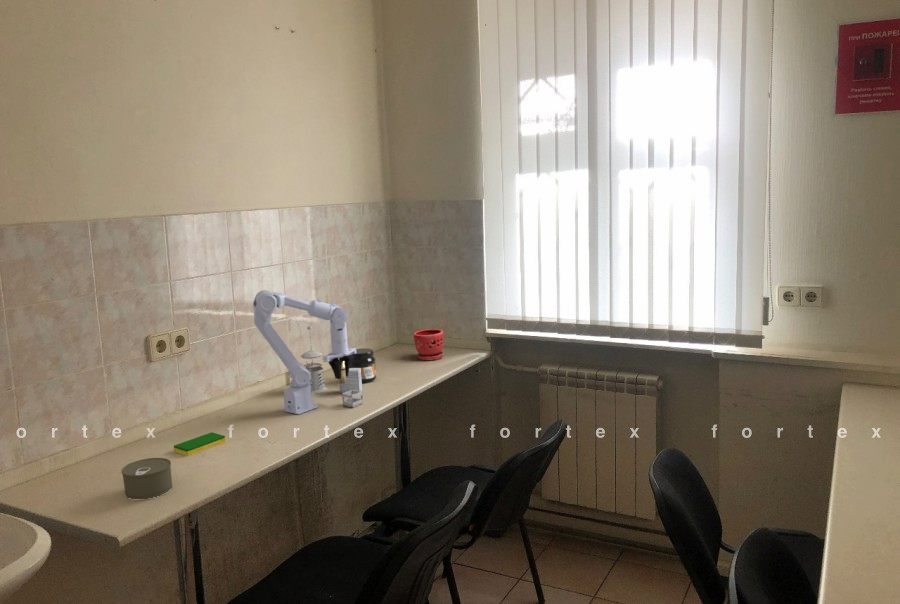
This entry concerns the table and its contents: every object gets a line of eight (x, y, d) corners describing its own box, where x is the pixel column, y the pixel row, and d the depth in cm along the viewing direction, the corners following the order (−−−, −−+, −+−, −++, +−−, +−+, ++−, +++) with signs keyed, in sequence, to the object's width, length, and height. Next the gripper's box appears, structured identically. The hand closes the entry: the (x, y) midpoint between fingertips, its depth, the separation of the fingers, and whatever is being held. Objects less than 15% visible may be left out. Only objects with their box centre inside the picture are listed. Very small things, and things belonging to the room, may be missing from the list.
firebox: (353, 407, 257) (352, 395, 256) (343, 405, 260) (342, 393, 259) (363, 403, 261) (362, 391, 260) (353, 401, 264) (352, 389, 263)
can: (179, 480, 199) (177, 456, 198) (164, 499, 188) (161, 474, 186) (135, 482, 199) (132, 458, 198) (116, 502, 187) (113, 476, 186)
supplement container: (372, 384, 286) (370, 354, 284) (346, 383, 288) (344, 354, 286) (379, 376, 296) (377, 347, 294) (354, 376, 298) (352, 347, 296)
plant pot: (432, 353, 332) (430, 327, 330) (450, 357, 322) (449, 331, 320) (409, 358, 324) (407, 332, 322) (427, 363, 314) (425, 336, 312)
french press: (330, 386, 286) (325, 323, 282) (322, 394, 274) (317, 329, 270) (305, 386, 287) (300, 323, 283) (296, 395, 275) (291, 329, 271)
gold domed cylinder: (342, 384, 260) (340, 362, 258) (335, 383, 262) (334, 361, 260) (348, 382, 262) (346, 360, 261) (342, 381, 264) (340, 359, 263)
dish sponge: (173, 453, 221) (172, 445, 221) (212, 439, 232) (211, 431, 232) (187, 457, 217) (186, 449, 217) (226, 443, 228) (225, 435, 228)
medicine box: (362, 389, 279) (361, 367, 277) (359, 393, 274) (358, 370, 273) (342, 390, 279) (340, 368, 278) (339, 393, 275) (337, 371, 274)
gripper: (332, 345, 251) (334, 383, 254) (361, 337, 263) (364, 373, 265) (317, 343, 255) (320, 381, 258) (347, 335, 267) (350, 371, 269)
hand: (341, 377), depth 262 cm, fingers closed on gold domed cylinder, 3 cm apart
